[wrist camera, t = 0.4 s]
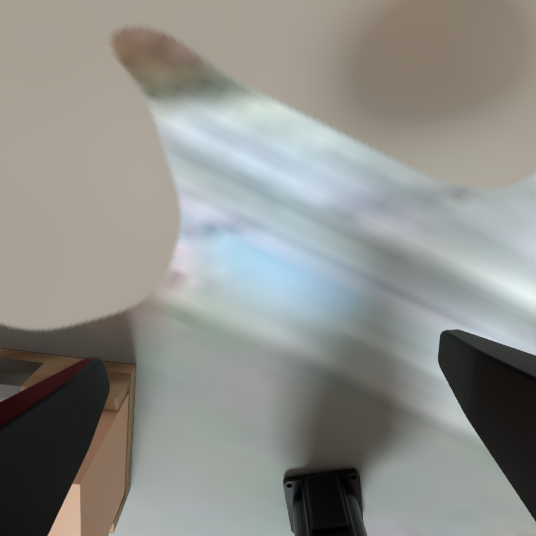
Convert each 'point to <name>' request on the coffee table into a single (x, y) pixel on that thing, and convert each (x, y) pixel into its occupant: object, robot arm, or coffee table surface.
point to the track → (45, 365)
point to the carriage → (97, 480)
